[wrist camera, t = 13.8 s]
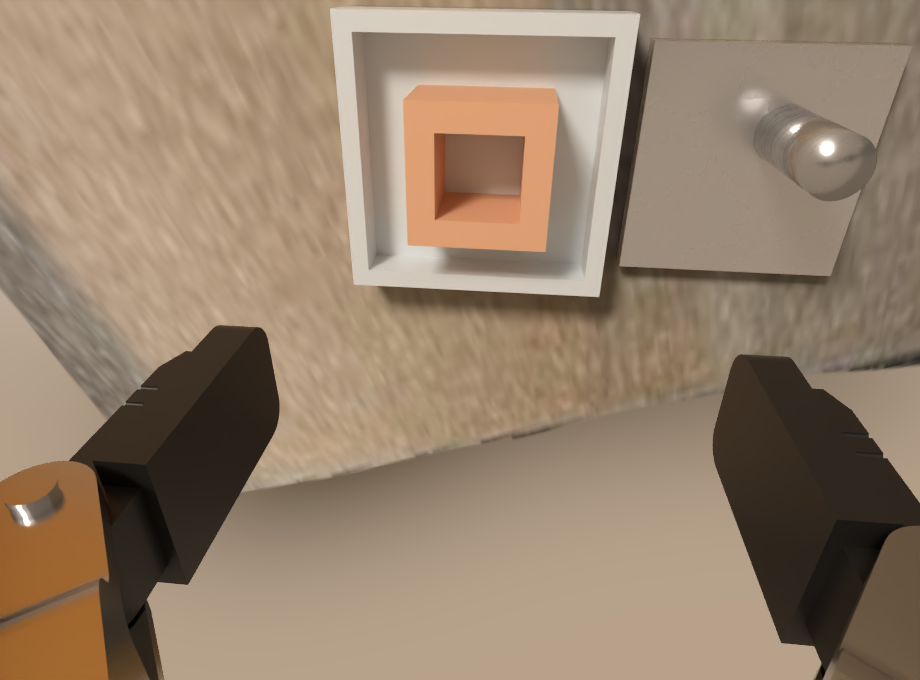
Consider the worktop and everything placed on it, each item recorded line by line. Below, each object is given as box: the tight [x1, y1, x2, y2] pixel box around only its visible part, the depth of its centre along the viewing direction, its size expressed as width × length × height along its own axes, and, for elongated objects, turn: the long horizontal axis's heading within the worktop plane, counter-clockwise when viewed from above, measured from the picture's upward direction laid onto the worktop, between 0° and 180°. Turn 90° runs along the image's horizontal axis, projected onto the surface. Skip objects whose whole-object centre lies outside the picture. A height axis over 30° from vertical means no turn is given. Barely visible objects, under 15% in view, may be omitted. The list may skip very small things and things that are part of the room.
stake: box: [617, 38, 912, 276], centre depth 25 cm, size 10×10×6 cm
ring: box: [403, 84, 559, 252], centre depth 27 cm, size 6×6×4 cm
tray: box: [330, 6, 640, 297], centre depth 28 cm, size 12×12×2 cm
